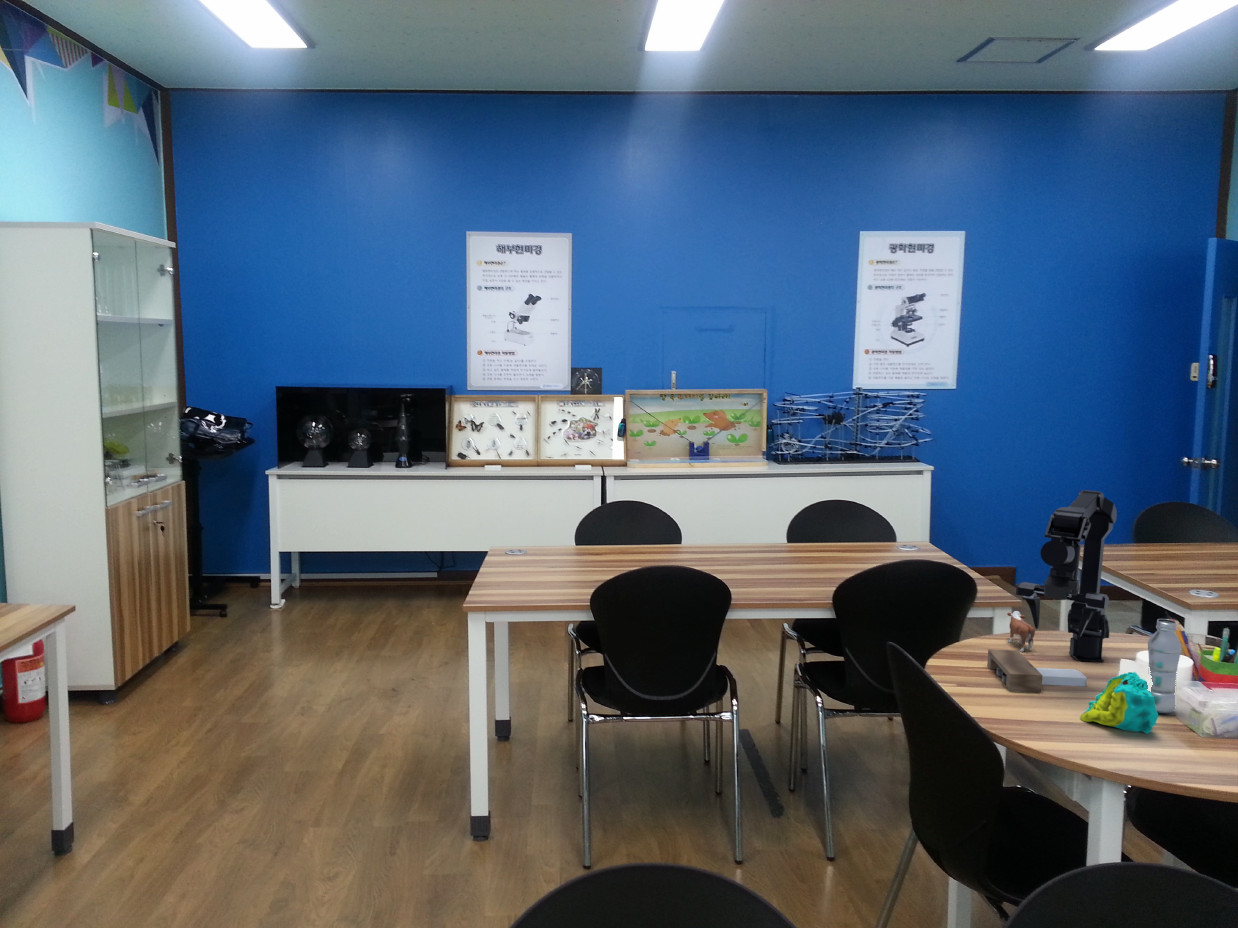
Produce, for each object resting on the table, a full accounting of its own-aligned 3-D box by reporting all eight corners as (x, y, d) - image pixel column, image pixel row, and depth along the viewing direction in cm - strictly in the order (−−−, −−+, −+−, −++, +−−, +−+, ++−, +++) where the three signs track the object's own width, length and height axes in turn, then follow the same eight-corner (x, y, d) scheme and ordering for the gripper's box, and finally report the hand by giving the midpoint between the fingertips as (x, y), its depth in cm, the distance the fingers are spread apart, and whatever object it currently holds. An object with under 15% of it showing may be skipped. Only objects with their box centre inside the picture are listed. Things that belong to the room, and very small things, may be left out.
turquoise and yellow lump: (1065, 690, 197) (1087, 651, 205) (1083, 735, 201) (1104, 694, 208) (1141, 698, 186) (1161, 655, 193) (1159, 745, 189) (1178, 701, 197)
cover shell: (1076, 677, 226) (1077, 669, 226) (1086, 686, 220) (1087, 678, 220) (1028, 675, 227) (1029, 667, 227) (1037, 684, 221) (1037, 675, 221)
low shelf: (1016, 667, 233) (1017, 650, 233) (1041, 692, 215) (1042, 675, 215) (987, 665, 234) (988, 649, 233) (1009, 691, 216) (1010, 673, 216)
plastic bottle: (1144, 714, 203) (1151, 623, 201) (1140, 703, 210) (1147, 615, 207) (1179, 718, 201) (1186, 627, 199) (1173, 707, 207) (1181, 618, 205)
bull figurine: (1019, 638, 257) (1021, 609, 256) (1036, 654, 244) (1038, 623, 243) (1003, 637, 257) (1004, 608, 256) (1018, 653, 244) (1020, 622, 243)
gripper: (1013, 560, 217) (1006, 627, 217) (1103, 572, 206) (1096, 644, 206) (1025, 558, 226) (1018, 623, 226) (1112, 570, 215) (1105, 638, 215)
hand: (1057, 632), depth 218 cm, fingers open, 9 cm apart
